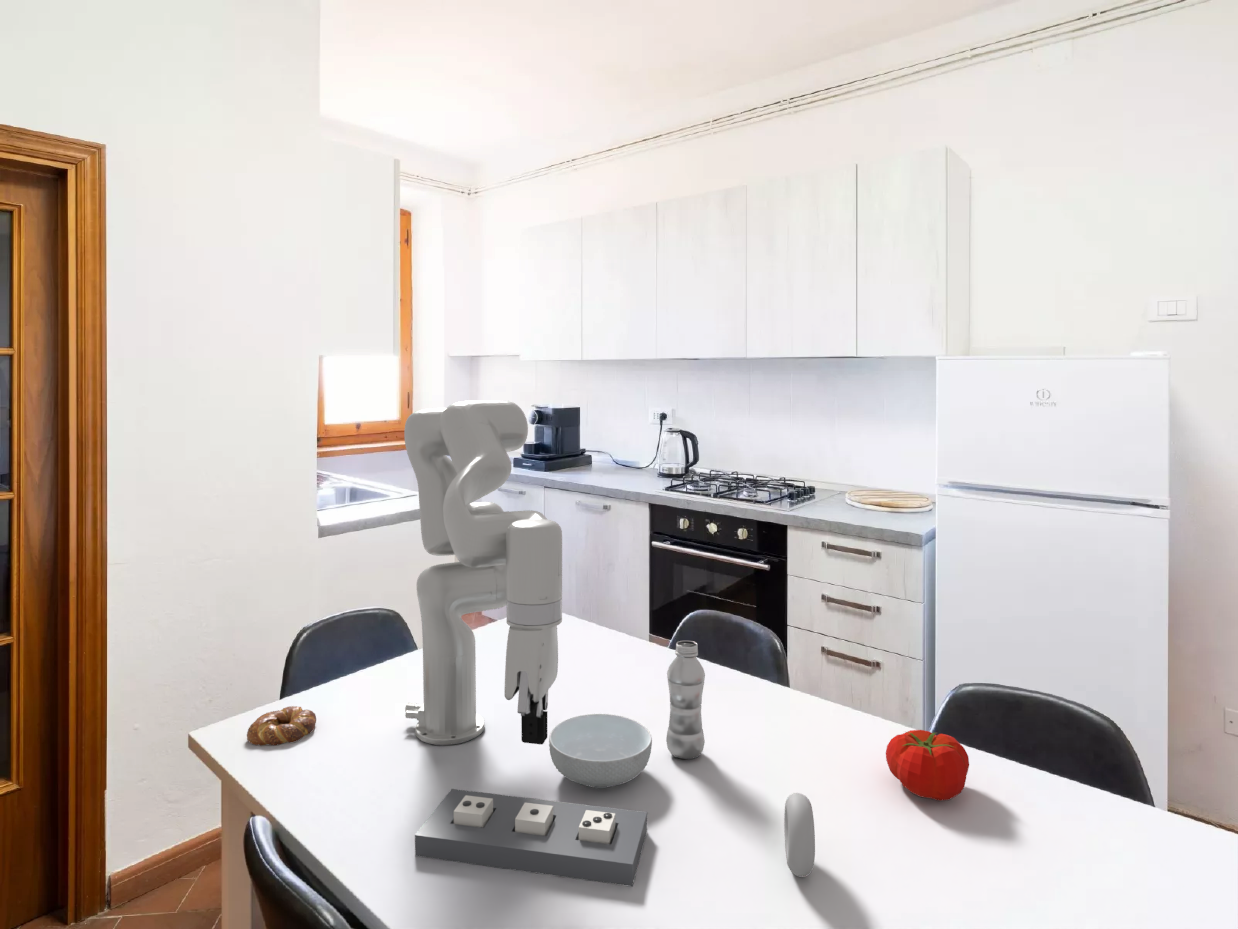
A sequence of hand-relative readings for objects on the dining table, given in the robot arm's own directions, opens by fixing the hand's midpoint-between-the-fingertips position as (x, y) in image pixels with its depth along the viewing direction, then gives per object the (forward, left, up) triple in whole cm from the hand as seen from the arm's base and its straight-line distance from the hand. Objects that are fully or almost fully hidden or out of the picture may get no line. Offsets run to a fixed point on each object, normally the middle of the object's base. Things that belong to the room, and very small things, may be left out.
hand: (534, 740), depth 101 cm
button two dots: (-9, 0, -13) cm, 16 cm away
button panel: (0, 0, -15) cm, 15 cm away
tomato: (+57, +27, -15) cm, 65 cm away
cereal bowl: (+5, +20, -15) cm, 26 cm away
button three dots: (+9, 0, -13) cm, 16 cm away
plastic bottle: (+18, +30, -15) cm, 38 cm away
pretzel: (-56, +23, -16) cm, 62 cm away
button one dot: (0, 0, -13) cm, 13 cm away
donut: (+36, +2, -15) cm, 39 cm away
